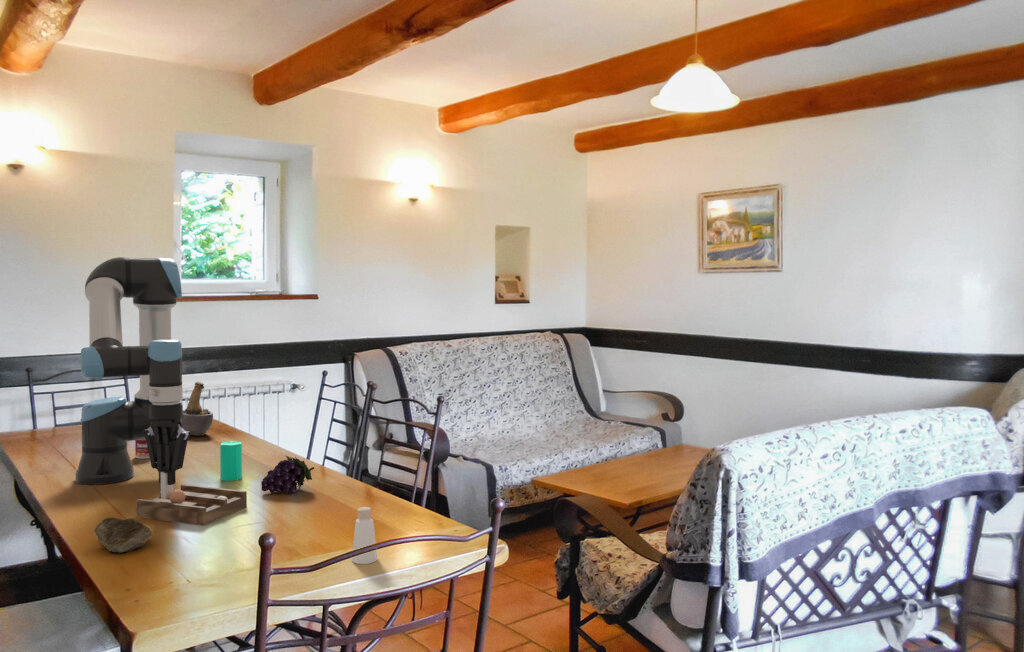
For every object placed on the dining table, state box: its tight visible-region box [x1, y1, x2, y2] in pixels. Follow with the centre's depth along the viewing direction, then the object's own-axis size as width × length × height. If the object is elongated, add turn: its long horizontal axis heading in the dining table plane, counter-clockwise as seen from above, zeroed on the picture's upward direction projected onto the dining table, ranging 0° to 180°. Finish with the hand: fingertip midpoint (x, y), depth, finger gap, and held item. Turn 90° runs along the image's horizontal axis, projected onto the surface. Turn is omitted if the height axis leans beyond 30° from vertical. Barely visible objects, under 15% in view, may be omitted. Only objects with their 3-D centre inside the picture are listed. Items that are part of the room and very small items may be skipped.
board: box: [135, 483, 248, 527], centre depth 194 cm, size 20×16×4 cm
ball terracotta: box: [170, 489, 185, 504], centre depth 190 cm, size 4×4×4 cm
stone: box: [93, 516, 154, 554], centre depth 169 cm, size 13×8×8 cm
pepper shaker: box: [351, 506, 378, 565], centre depth 162 cm, size 5×5×11 cm
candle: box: [219, 440, 243, 482], centre depth 227 cm, size 6×6×12 cm
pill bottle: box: [134, 440, 150, 460], centre depth 254 cm, size 6×6×11 cm
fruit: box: [260, 455, 315, 494], centre depth 214 cm, size 10×11×15 cm
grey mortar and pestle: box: [181, 381, 214, 437], centre depth 291 cm, size 15×17×20 cm
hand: (167, 497), depth 191 cm, fingers closed
